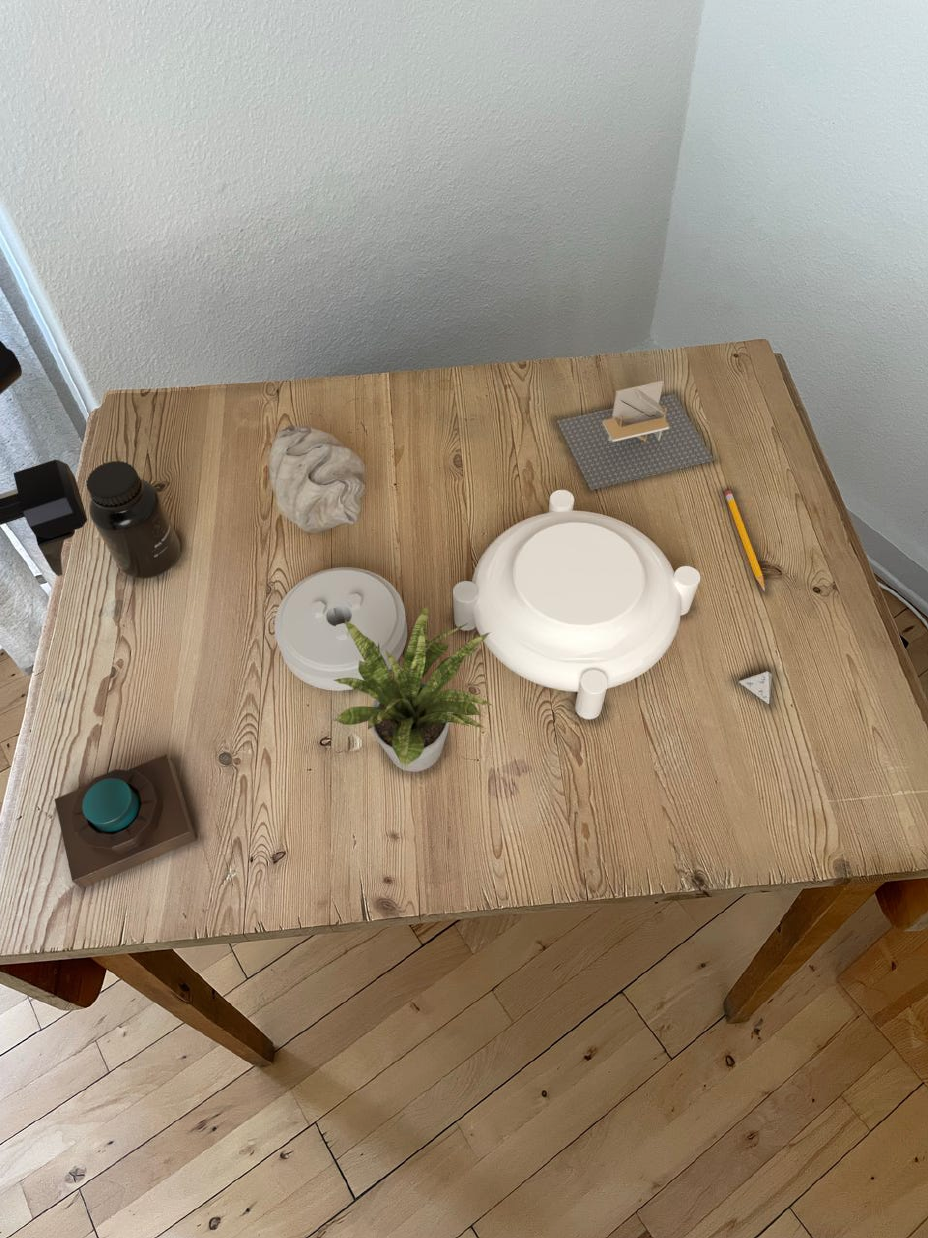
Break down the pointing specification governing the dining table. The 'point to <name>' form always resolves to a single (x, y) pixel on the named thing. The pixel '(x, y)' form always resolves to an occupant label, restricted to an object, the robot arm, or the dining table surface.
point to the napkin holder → (634, 438)
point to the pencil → (745, 538)
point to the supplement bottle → (132, 520)
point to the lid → (338, 624)
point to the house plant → (411, 696)
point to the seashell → (315, 479)
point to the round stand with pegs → (575, 601)
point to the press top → (110, 805)
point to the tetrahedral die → (759, 685)
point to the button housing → (143, 839)
